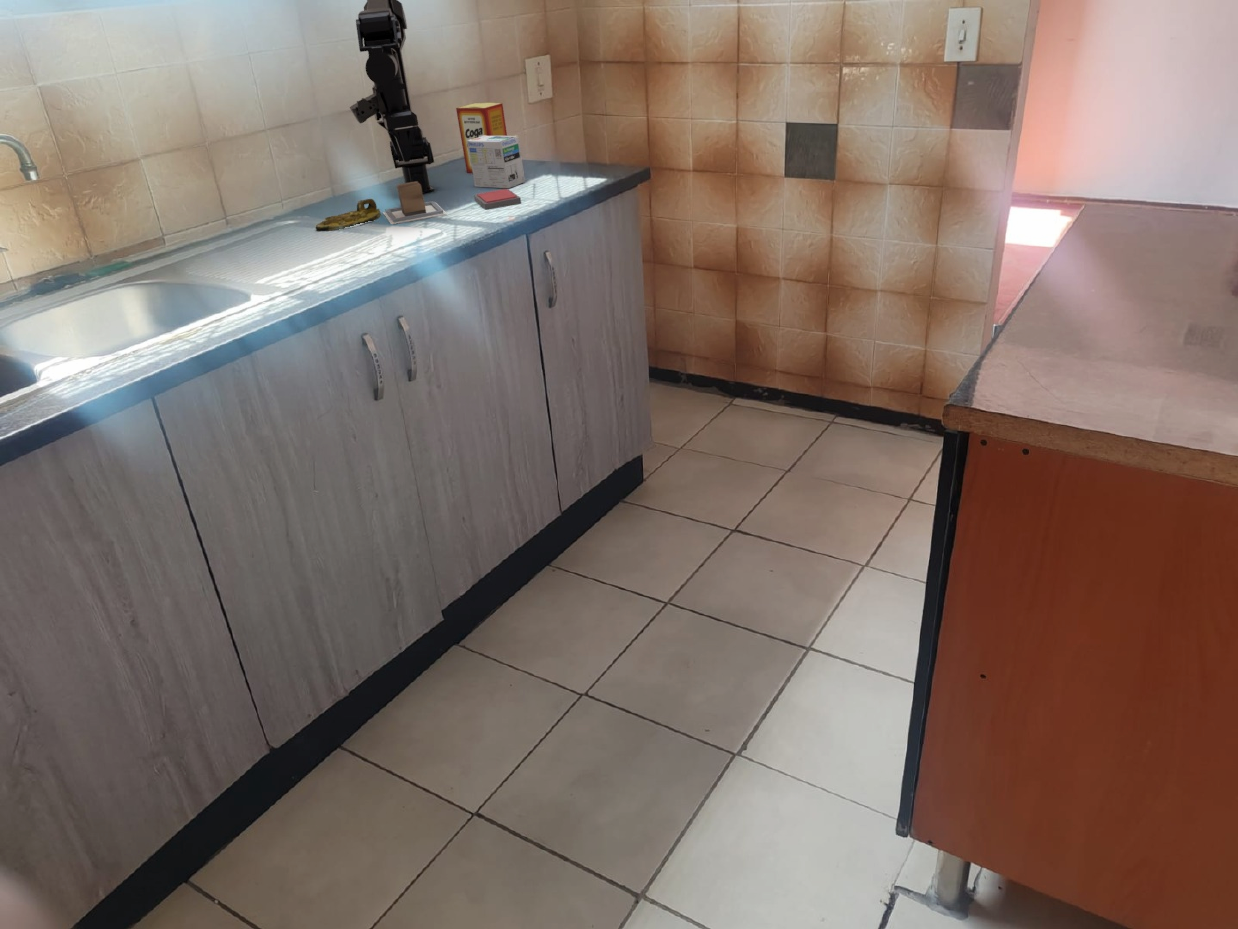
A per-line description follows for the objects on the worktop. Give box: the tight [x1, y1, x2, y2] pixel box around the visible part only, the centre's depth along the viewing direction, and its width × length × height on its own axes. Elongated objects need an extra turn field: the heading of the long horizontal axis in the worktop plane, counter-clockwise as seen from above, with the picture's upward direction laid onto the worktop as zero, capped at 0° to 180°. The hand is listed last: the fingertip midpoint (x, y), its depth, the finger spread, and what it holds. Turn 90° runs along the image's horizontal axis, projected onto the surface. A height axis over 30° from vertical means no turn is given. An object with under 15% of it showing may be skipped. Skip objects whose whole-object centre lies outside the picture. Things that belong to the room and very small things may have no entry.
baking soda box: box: [455, 102, 508, 174], centre depth 231 cm, size 10×6×16 cm
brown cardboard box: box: [396, 181, 426, 217], centre depth 200 cm, size 4×4×6 cm
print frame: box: [382, 200, 448, 225], centre depth 202 cm, size 12×12×1 cm
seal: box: [315, 198, 382, 232], centre depth 199 cm, size 9×5×15 cm
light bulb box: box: [467, 135, 526, 189], centre depth 217 cm, size 11×7×11 cm, turn 58°
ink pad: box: [473, 188, 522, 210], centre depth 204 cm, size 10×8×2 cm
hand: (403, 158), depth 196 cm, fingers open, 9 cm apart
